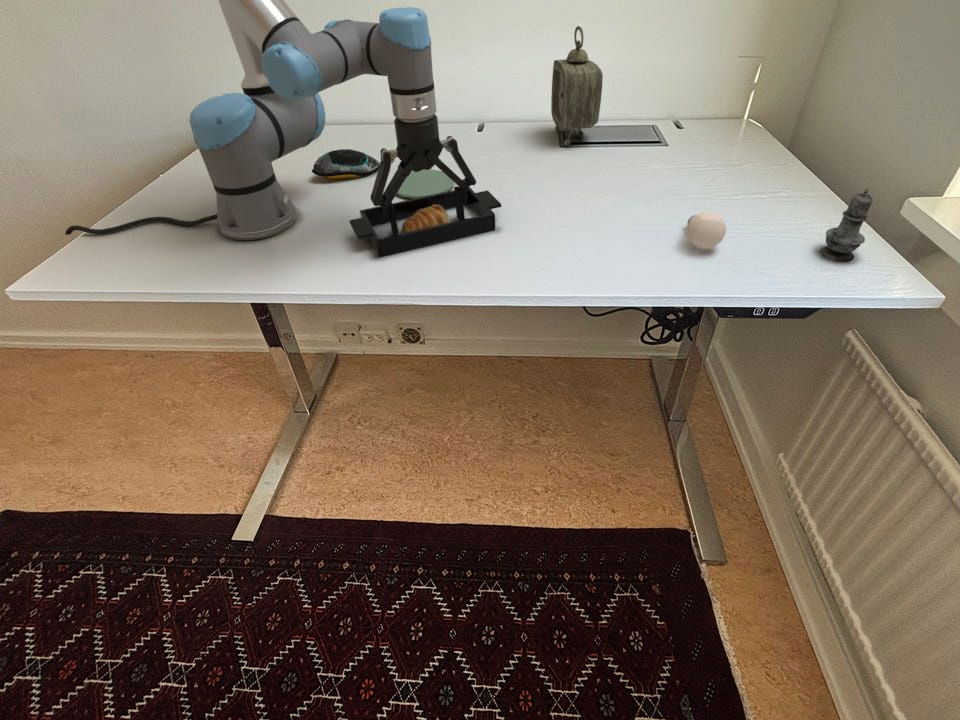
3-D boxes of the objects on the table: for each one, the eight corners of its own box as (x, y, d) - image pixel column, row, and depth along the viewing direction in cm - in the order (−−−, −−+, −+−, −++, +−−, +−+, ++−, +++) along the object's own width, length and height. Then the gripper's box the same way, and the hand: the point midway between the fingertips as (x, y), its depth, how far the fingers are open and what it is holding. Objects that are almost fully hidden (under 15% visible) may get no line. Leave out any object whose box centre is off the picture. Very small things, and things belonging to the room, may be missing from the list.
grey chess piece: (838, 266, 91) (870, 199, 83) (810, 250, 95) (838, 185, 87) (863, 258, 92) (897, 192, 84) (834, 242, 96) (864, 178, 88)
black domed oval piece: (388, 172, 127) (384, 147, 124) (318, 188, 122) (312, 163, 118) (377, 160, 133) (373, 136, 129) (310, 174, 128) (304, 150, 124)
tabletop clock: (549, 129, 144) (554, 21, 127) (582, 127, 145) (592, 19, 128) (561, 149, 133) (569, 34, 117) (597, 146, 134) (609, 32, 117)
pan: (364, 261, 98) (360, 244, 96) (349, 229, 107) (345, 213, 105) (508, 227, 105) (508, 210, 103) (482, 199, 115) (481, 184, 112)
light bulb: (682, 200, 100) (699, 211, 91) (717, 207, 101) (737, 219, 91) (670, 234, 103) (686, 249, 94) (704, 241, 103) (722, 257, 94)
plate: (401, 205, 114) (401, 201, 114) (385, 180, 124) (384, 176, 123) (463, 192, 118) (462, 188, 117) (442, 169, 127) (441, 165, 127)
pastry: (414, 243, 102) (411, 225, 100) (395, 231, 106) (392, 213, 104) (453, 227, 106) (452, 209, 104) (434, 215, 110) (432, 198, 108)
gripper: (348, 135, 86) (371, 250, 100) (490, 109, 92) (493, 222, 107) (339, 121, 91) (362, 233, 106) (474, 98, 98) (479, 206, 112)
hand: (428, 227), depth 106 cm, fingers open, 13 cm apart
